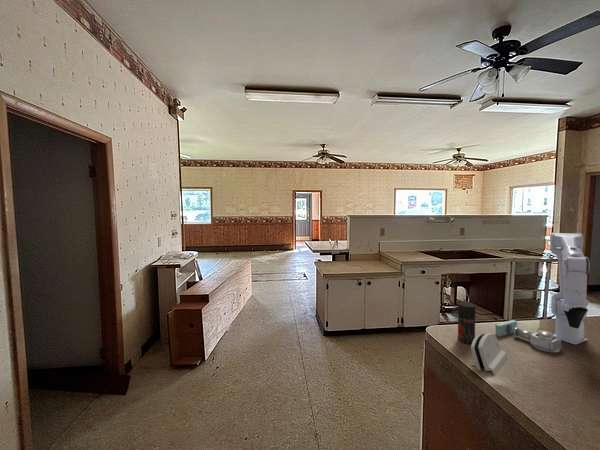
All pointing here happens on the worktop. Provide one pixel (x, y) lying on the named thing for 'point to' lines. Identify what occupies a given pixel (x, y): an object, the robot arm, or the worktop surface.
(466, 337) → the deodorant
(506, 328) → the pale teal rectangular bar
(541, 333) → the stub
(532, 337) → the elbow
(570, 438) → the worktop surface
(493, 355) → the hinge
